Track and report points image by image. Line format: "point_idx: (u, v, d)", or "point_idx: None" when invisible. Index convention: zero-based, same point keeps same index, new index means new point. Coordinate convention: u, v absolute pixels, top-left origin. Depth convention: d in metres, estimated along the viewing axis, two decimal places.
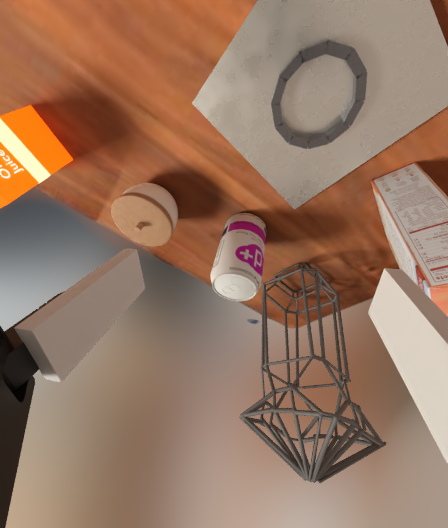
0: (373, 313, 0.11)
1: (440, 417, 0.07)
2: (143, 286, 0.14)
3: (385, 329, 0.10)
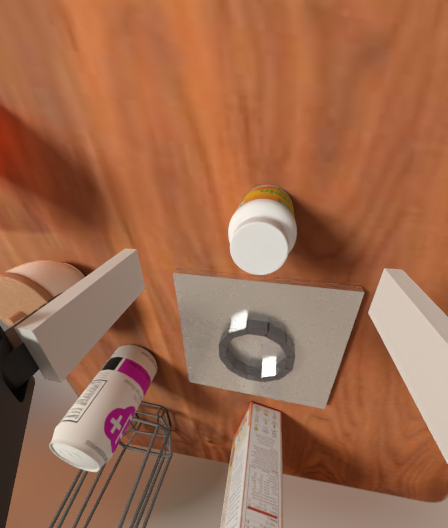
0: (373, 313, 0.11)
1: (440, 417, 0.07)
2: (143, 286, 0.14)
3: (385, 329, 0.10)
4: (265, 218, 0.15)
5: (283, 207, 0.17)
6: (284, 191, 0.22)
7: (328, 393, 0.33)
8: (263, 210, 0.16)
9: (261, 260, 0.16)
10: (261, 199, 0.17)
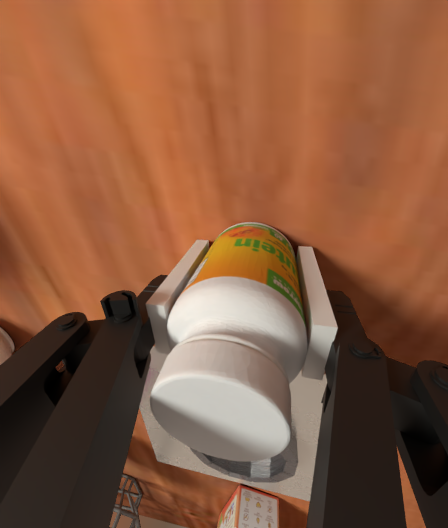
0: None
1: None
2: None
3: None
4: (231, 353, 0.06)
5: (278, 300, 0.07)
6: (280, 234, 0.13)
7: None
8: (231, 312, 0.07)
9: (225, 440, 0.06)
10: (229, 277, 0.08)
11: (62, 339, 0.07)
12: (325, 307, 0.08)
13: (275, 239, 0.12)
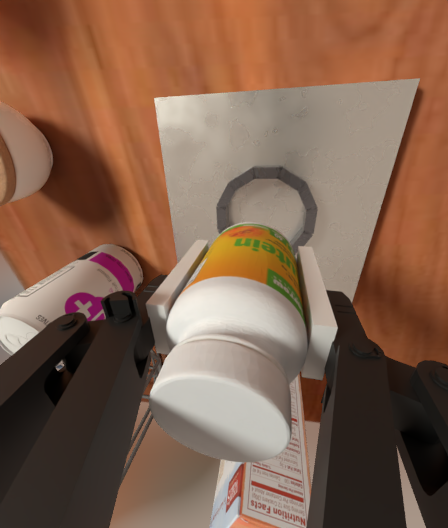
0: None
1: None
2: None
3: None
4: (231, 353, 0.06)
5: (278, 300, 0.07)
6: (280, 234, 0.13)
7: (357, 279, 0.26)
8: (231, 312, 0.07)
9: (225, 441, 0.06)
10: (229, 277, 0.08)
11: (62, 339, 0.07)
12: (325, 307, 0.08)
13: (275, 239, 0.11)
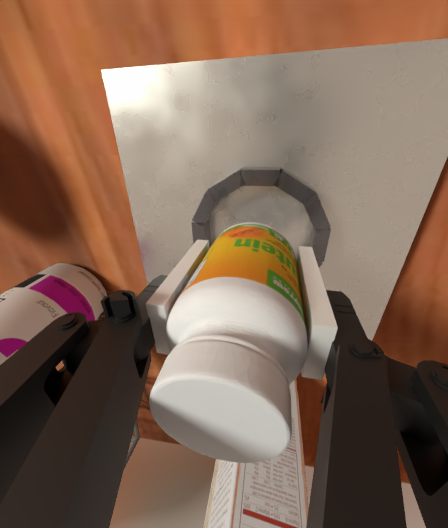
0: None
1: None
2: None
3: None
4: (231, 353, 0.06)
5: (278, 301, 0.07)
6: (280, 234, 0.13)
7: (378, 317, 0.20)
8: (231, 313, 0.07)
9: (225, 442, 0.06)
10: (229, 277, 0.08)
11: (62, 339, 0.07)
12: (325, 307, 0.08)
13: (275, 239, 0.11)
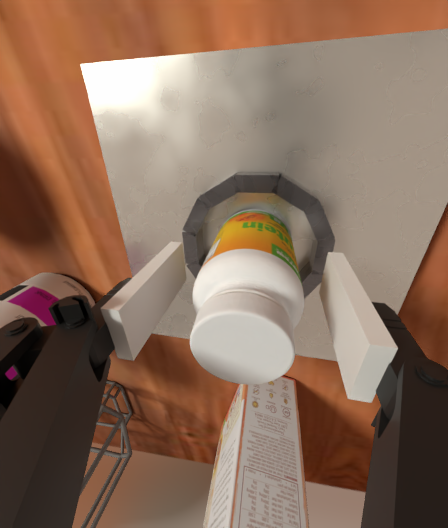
0: (321, 292, 0.13)
1: (346, 364, 0.08)
2: (185, 277, 0.15)
3: (326, 303, 0.12)
4: (250, 298, 0.08)
5: (281, 264, 0.10)
6: (278, 219, 0.15)
7: None
8: (247, 274, 0.09)
9: (246, 366, 0.09)
10: (242, 249, 0.10)
11: (12, 344, 0.07)
12: (377, 323, 0.07)
13: (275, 222, 0.14)
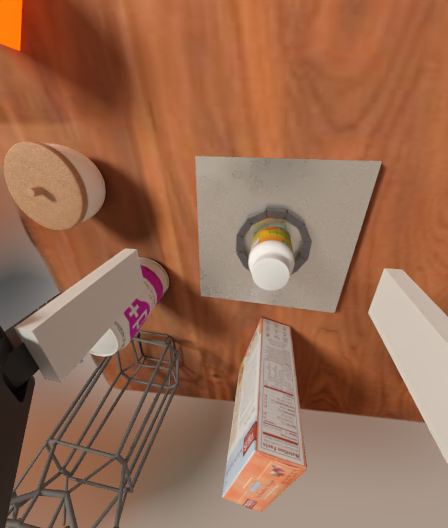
0: (373, 313, 0.11)
1: (440, 417, 0.07)
2: (143, 286, 0.14)
3: (385, 329, 0.10)
4: (275, 255, 0.24)
5: (285, 246, 0.25)
6: (285, 230, 0.31)
7: (339, 292, 0.34)
8: (273, 249, 0.25)
9: (272, 281, 0.24)
10: (271, 240, 0.26)
11: None
12: None
13: (283, 231, 0.30)
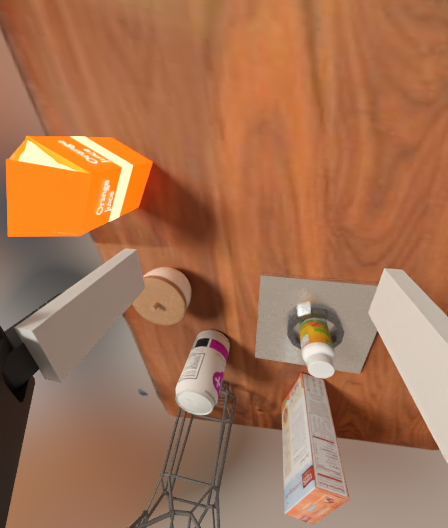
0: (373, 313, 0.11)
1: (440, 417, 0.07)
2: (143, 286, 0.14)
3: (385, 329, 0.10)
4: (324, 358, 0.36)
5: (329, 347, 0.38)
6: (324, 322, 0.43)
7: (363, 361, 0.46)
8: (321, 350, 0.37)
9: (322, 373, 0.37)
10: (318, 342, 0.38)
11: None
12: None
13: (323, 326, 0.42)
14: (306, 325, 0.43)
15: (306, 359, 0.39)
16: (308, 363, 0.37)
